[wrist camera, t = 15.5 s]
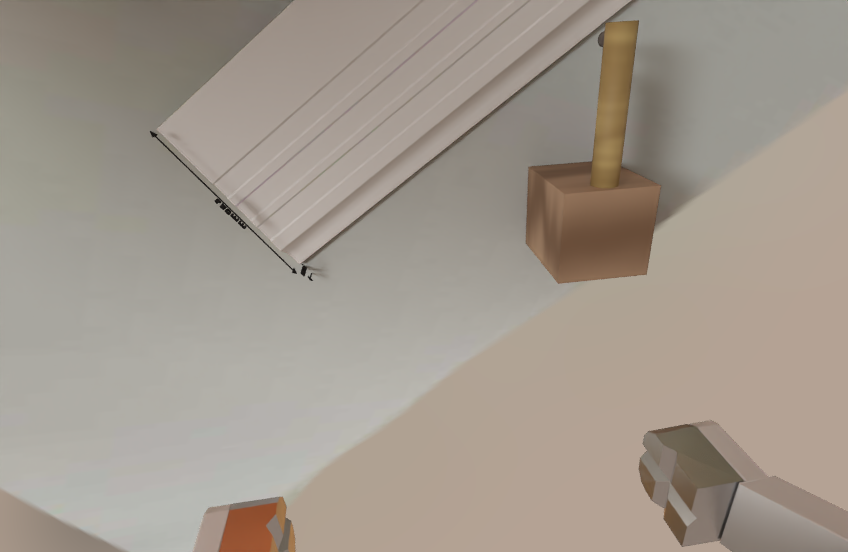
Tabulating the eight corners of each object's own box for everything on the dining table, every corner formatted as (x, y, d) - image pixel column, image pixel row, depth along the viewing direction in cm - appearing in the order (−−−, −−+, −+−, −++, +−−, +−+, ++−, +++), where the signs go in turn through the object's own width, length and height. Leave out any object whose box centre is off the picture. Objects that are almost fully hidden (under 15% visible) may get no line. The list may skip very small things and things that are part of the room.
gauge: (533, 28, 26) (577, 24, 21) (622, 22, 26) (687, 17, 21) (525, 242, 31) (558, 283, 26) (599, 235, 32) (646, 274, 26)
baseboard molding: (750, -66, 26) (658, -335, 21) (794, -79, 23) (700, -390, 18) (316, 274, 31) (166, 125, 27) (311, 295, 29) (144, 134, 24)
